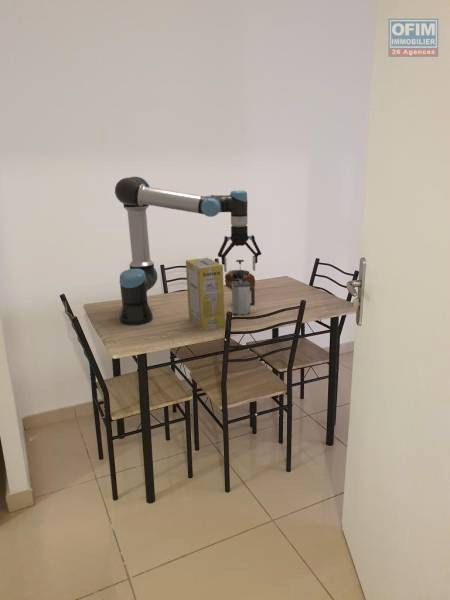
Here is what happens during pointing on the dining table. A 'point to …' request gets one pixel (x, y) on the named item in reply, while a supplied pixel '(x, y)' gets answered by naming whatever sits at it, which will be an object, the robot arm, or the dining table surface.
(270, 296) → the dining table surface
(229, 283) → the bread
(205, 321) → the pasta box
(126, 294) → the robot arm
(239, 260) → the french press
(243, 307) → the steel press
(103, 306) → the dining table surface
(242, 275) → the ball knob on rod
